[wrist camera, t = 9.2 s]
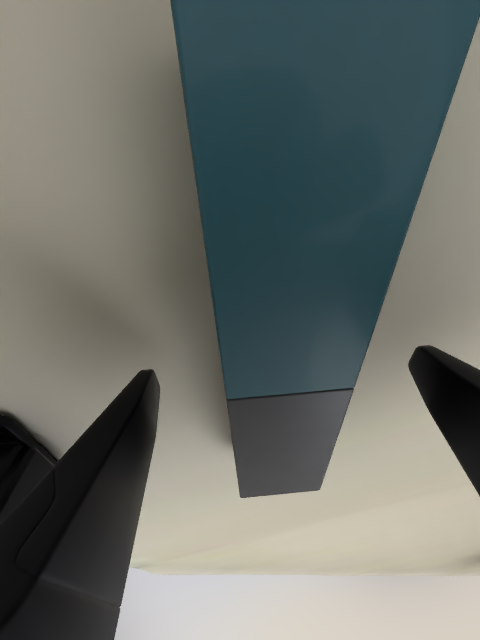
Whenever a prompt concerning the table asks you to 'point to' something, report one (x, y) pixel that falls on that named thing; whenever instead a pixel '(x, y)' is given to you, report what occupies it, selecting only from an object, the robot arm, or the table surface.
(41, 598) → the robot arm
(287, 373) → the slat
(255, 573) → the table surface
